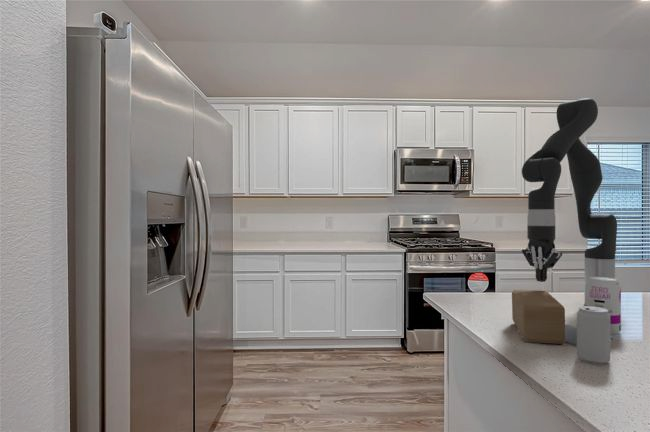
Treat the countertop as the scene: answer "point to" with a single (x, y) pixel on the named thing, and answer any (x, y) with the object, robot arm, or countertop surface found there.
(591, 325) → the beverage can
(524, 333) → the wooden block
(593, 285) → the supplement can
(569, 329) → the mat
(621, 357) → the countertop surface
